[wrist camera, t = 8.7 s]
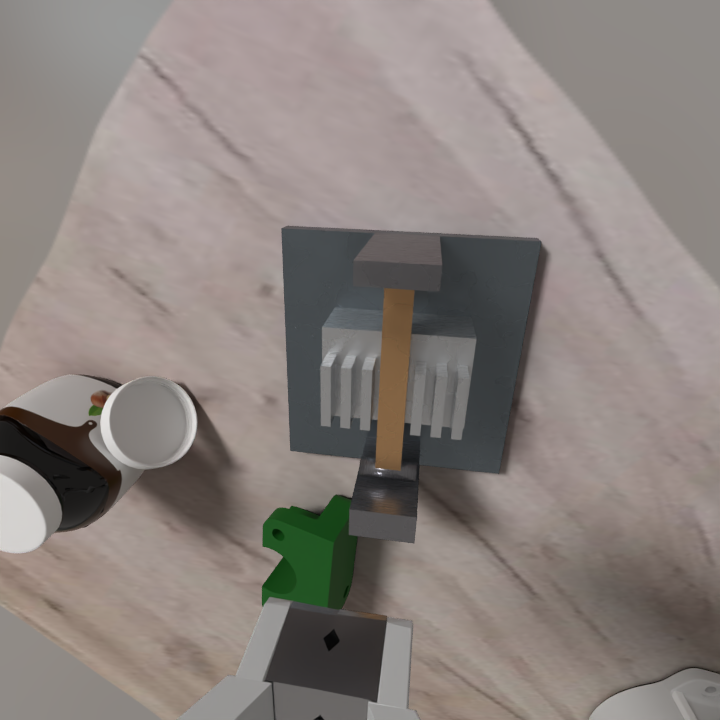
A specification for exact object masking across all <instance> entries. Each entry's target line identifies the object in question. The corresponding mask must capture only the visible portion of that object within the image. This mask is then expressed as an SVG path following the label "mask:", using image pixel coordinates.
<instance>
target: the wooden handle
mask: <svg viewBox="0 0 720 720" xmlns="http://www.w3.org/2000/svg"><path fill="white" fill-rule="evenodd" d="M414 293H415V290H406V289H390V288H384V303H383V323H382V343H381V363H380V383H379V403H378V422H377V442H376V458H372V457H363V456H361V460H360V467H359V475H362V476H370V477H379V478H388V479H396V480H405V481H414V482H416V472H417V462H408V461H402V448H403V435H404V422H405V409H406V396H407V384H408V371H409V358H410V345H411V332H412V319H413V306H414Z"/></svg>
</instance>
